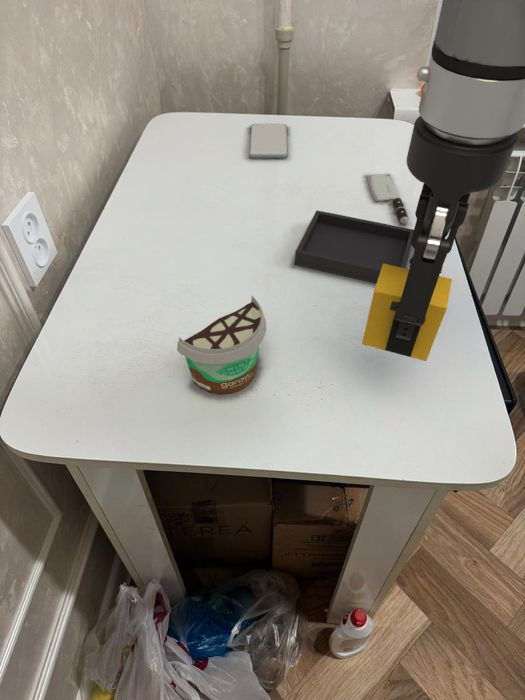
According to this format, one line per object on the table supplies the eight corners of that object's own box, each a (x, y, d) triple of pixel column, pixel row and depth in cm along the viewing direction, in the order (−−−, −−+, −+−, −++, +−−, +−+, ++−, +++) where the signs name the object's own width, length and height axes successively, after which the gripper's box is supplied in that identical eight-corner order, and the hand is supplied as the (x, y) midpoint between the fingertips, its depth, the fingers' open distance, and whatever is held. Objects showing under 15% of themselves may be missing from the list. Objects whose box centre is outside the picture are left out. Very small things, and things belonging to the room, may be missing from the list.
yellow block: (431, 332, 56) (452, 278, 50) (426, 361, 53) (447, 308, 47) (370, 317, 58) (383, 262, 52) (361, 344, 55) (374, 290, 49)
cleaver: (366, 174, 101) (391, 170, 101) (366, 180, 102) (391, 176, 102) (381, 221, 90) (409, 217, 90) (381, 228, 91) (409, 224, 91)
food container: (211, 419, 64) (204, 370, 56) (185, 389, 67) (174, 339, 59) (284, 370, 69) (286, 320, 61) (256, 344, 72) (255, 293, 65)
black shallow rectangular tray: (412, 243, 87) (415, 229, 85) (399, 289, 80) (403, 275, 78) (315, 223, 91) (316, 210, 89) (294, 265, 84) (295, 251, 82)
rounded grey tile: (286, 123, 116) (288, 154, 105) (286, 127, 116) (288, 159, 106) (250, 123, 116) (248, 154, 106) (250, 127, 116) (248, 159, 106)
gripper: (432, 71, 43) (384, 277, 61) (395, 171, 33) (349, 385, 50) (524, 83, 42) (447, 291, 59) (516, 192, 31) (425, 406, 49)
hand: (402, 334), depth 55 cm, fingers closed on yellow block, 4 cm apart
